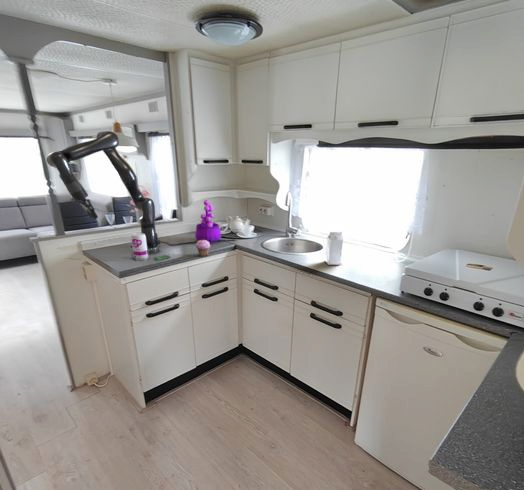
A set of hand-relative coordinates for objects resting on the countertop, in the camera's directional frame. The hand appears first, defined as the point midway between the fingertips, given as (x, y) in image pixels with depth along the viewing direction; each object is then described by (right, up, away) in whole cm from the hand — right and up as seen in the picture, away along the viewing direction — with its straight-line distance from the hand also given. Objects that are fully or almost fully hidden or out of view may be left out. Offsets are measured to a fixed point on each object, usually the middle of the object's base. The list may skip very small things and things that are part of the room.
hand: (94, 217), depth 181 cm
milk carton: (+137, -25, +14) cm, 140 cm away
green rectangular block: (+32, -21, +18) cm, 43 cm away
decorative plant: (+54, -6, +57) cm, 79 cm away
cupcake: (+56, -19, +25) cm, 65 cm away
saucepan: (+17, -16, +31) cm, 39 cm away
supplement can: (+20, -22, +17) cm, 34 cm away
